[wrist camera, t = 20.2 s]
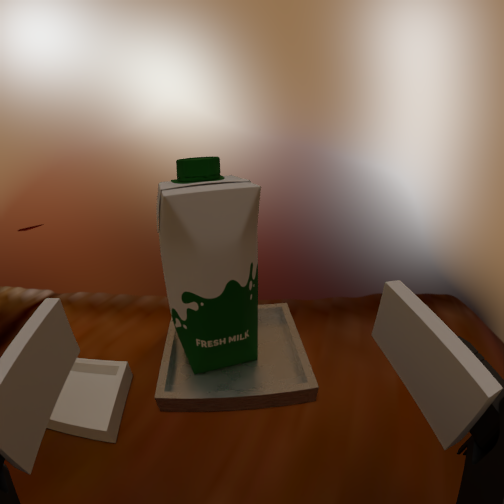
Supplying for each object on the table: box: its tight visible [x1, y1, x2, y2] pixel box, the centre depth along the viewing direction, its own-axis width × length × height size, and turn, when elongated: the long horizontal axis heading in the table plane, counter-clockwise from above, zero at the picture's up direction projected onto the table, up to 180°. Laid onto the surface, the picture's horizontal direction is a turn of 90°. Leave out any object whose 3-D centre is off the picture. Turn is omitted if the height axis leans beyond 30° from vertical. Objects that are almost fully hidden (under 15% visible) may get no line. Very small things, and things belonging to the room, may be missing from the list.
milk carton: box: [157, 157, 261, 374], centre depth 27 cm, size 9×9×20 cm
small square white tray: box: [46, 358, 133, 443], centre depth 21 cm, size 9×9×2 cm
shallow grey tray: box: [155, 303, 319, 412], centre depth 29 cm, size 15×15×2 cm
